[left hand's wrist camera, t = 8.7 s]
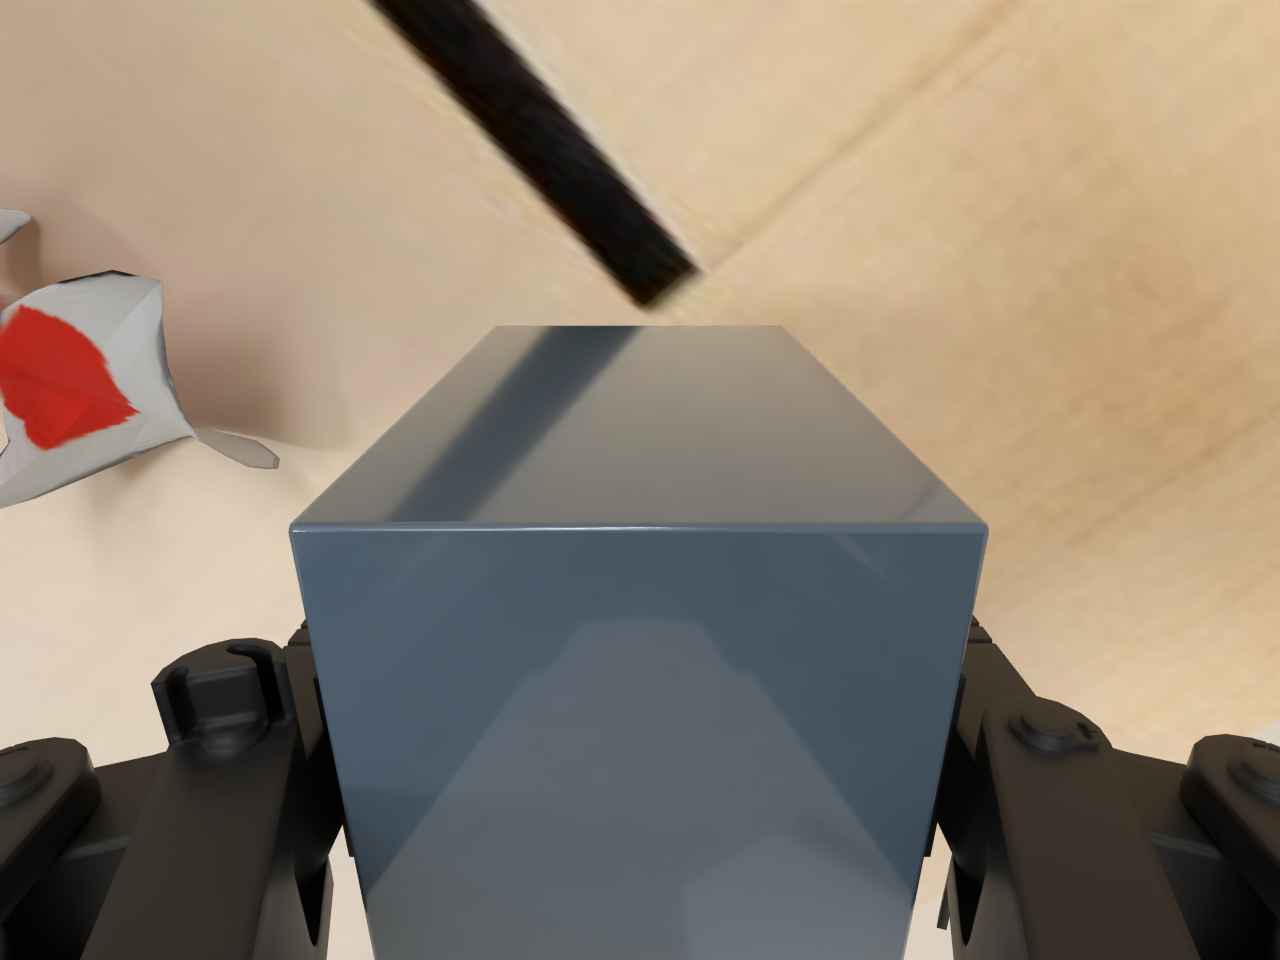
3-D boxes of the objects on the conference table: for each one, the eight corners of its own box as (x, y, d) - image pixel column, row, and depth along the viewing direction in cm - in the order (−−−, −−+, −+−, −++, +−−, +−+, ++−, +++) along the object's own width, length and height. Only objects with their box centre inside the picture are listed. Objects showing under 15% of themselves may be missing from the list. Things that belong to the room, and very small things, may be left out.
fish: (-121, -96, 18) (-523, 113, 12) (382, 322, 28) (301, 544, 22) (-239, 133, 23) (-564, 361, 17) (225, 416, 33) (124, 618, 27)
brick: (760, 653, 17) (876, 1104, 9) (518, 653, 17) (401, 1106, 9) (784, 325, 14) (994, 525, 6) (494, 325, 14) (282, 525, 6)
